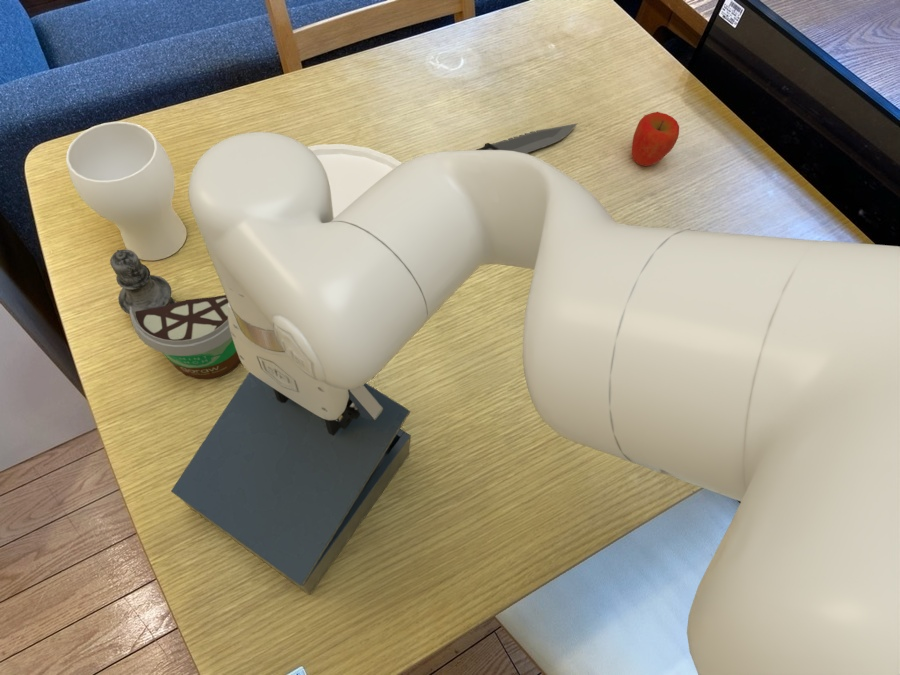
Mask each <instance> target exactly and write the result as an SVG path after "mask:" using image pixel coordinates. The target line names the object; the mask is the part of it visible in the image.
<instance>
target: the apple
mask: <svg viewBox="0 0 900 675" xmlns="http://www.w3.org/2000/svg"><path fill="white" fill-rule="evenodd" d="M679 136H680V125H679V123H678V121H677V120H676V119H675V118H674V117H673V116H671V115H669V114H667V113H663V112H660V111H654V112H650V113H647V114H644V116H643V117H642V118H641V119H640V120H639V122H638V123H637V125H636V128H635V131H634V133H633V137H632V143H631V157H632V159H633V162H634V163H636V164H637V165H640V166H643V167H649V166H652V165H654V164H657V163H658V162H659V161H661V160H662V159H664V157H666V156H668V154H669V153H670V152H671V151H672V149H673V148H674V147H675V145H676V143H677V142H678V139H679Z"/></svg>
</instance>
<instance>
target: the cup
mask: <svg viewBox="0 0 900 675" xmlns="http://www.w3.org/2000/svg"><path fill="white" fill-rule="evenodd" d="M65 160H66V161H65V162H66V166H67V170H68V174H69V178H70V181H71V184H72V186H73V187H74V189H75V191H76V193H77V194H78V196H79V197H80V199H81V200H82V202H84V204H86V206H87V207H89V208H90V209H91V210H92V211H93V212H95V213H96V214H97V215H98V216H100V217H101V218H103V219H105V220H108V221H109V222H112V223H113V224H114V225H115V226H116V227H117V228H118V229H119V232H120V235H121V239H122V241H123V244H124V247H125V249H126V250H131V251H133V252H134V253H135V254H136V255H137V256H138V258H139V260H142V261H159V260H164V259H167V258H169V257H171V256H172V255H174V254H175V253H177V252H178V251H179V250H180V249H182V247H183V246H184V244H185V242H186V240H187V235H188V233H187V228H186V226H185V224H184V222H183V221H182V219H181V217H180V216H179V215H178V214H177V212H176V211H175V210H174V206H173V199H174V195H175V189H176V188H175V186H176V184H175V182H176V181H175V170H174V167H173V164H172V162H171V159H170V157H169V155H168V153H167V151H166V150H165V148H164V146H162V144H161V143H160V141H159V140H158V139H157V138H156V136H155V135H154V134H153V133H152V132H151V131H150V130H149V129H148V128H146V127H145V126H142V125H139V124H137V123H135V122H134V123H133V122H129V121H110V122H103V123H101V124H96V125H94V126H91V127H90V128H88V129H86V130H83V131H82V132H81V133H79V134H78V135H77V136H76V137H74V138H73V140H72V142H71V143H70V144H69V145H68V148H67V151H66V153H65Z"/></svg>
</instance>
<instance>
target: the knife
mask: <svg viewBox="0 0 900 675" xmlns="http://www.w3.org/2000/svg"><path fill="white" fill-rule="evenodd" d="M577 125H578V123H572V124H567V125H566V124H565V125H562V126H561V125H560V126H556V127H549V128H543V129H539V130H538V129H537V130H535V131H534V130H533V131H529V132H525V133H524V134H520V135H518V136H517V135H516V136H513V137H510V138H507V139H503V140H500V141H497V142H494V143H493V142H492V143H490V142H485V144H484V146H483V147H480V148H477V149H475V150H507V151H515V152H520V153H525V154H529V153H531V152H534V151H536V150H539V149H542V148H545V147H548V146H550V145H553V144H556V143H557V142H559V141H561V140H562V139H564V138H565V137H567V136H568V135H569V134H570V133H571V132H572V131H573V130H574V129H575V127H576V126H577Z"/></svg>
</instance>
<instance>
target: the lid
mask: <svg viewBox="0 0 900 675" xmlns="http://www.w3.org/2000/svg"><path fill="white" fill-rule="evenodd" d="M364 386H365V387H366V389H367V390H368V391H369V392H370V393H371V394H372V396H373V397H374V398H375V399H376V400H377V402H378V403H379V404H380V405H381V406H382V408H383V410H382V412H381V413H380V414H379V416H378V417H377V418H376V420H375V421H371V420H367V419H363V418H362V417H361V416H359V417H358V418H357V419H352V421H351V422H350V424H349V425H348V426H347V427H346V428H345V429H343V428H342V427H341V428H340V429H339V430H338V431H337V433H336V434H335V435H334V436H333V435H331V434H330V433H328V430H327V426H326V422H325V419H323V418H321V417H319V416H317V415H315V414H314V413H312V412H310V411H309V410H307V409H306V408H304V407H302V406H301V405H299V404H298V403H296V402H294V401H293V400H291V399H290V398H289V399H288V401H287V402H286V403H281V402H279V401H278V400H277V398H276V395H275V392H274V390H273V388H272V387H271V386H269V385H268V384H266V383H265V382H263V381H262V380H260V379H259V378H257V377H256V376H254V375H253V374H252V373H250V372H249V371H248V373H247V375H246V377H245V378H244V379H243V381H242V383H241V384H240V386H239V387H238V389H237V390H236V391H235V394H234V395H233V396H232V398H231V399H230V400H229V402H228V404H227V405H226V407H225V408H224V410H223V412H222V413H221V414H220V415H219V416H218V419H217V421H216V422H215V424H214V425H213V426H212V428H211V429H210V431H209V432H208V434H207V436H206V437H205V439H204V440H203V441H202V443H201V444H200V446H199V448H198V449H197V451H196V452H195V454H194V455H193V456H192V458H191V460H190V461H189V463H188V465H187V466H186V467H185V469H184V471H182V473H181V475H180V476H179V478H178V480H177V481H176V482H175V484H174V485H173V487H172V489H171V491H170V492H171V493H172V494H174V495H175V496H176V497H178V498H179V499H180V498H181V499H182V500H183V501H185V502H186V503H188V504H189V505H190V506H192V507H193V508H194V509H196V510H197V511H199V512H200V513H201V514H203V515H204V516H205V517H207V518H208V519H210V520H211V521H212V522H214V523H215V524H216V525H218V526H219V527H220V528H222V529H223V530H225V531H226V532H227V533H229V534H230V535H231V536H233V537H234V538H236V539H237V540H238V541H240V542H241V543H242V544H244V545H245V546H247V547H248V548H249V549H251V550H252V551H253V552H255V553H256V554H258V555H259V556H260V557H262V558H263V559H264V560H266V561H267V562H269V563H270V564H271V565H273V566H274V567H275V568H277V569H278V570H280V571H281V572H282V573H284V574H285V575H286V576H288V577H289V578H291V579H292V580H293V581H295V582H296V583H297V584H299V585H300V586H301V585H303V584H304V583H305V581H306V580H307V578H308V577H309V575H310V573H311V572H312V570H313V569H314V567H315V565H316V564H317V562H318V560H319V559H320V557H321V556H322V554H323V552H324V551H325V549H326V548H327V546H328V544H329V543H330V541H331V539H332V538H333V536H334V535H335V533H336V531H337V530H338V528H339V526H340V525H341V523H342V522H343V520H344V518H345V517H346V515H347V514H348V512H349V510H350V509H351V507H352V505H353V504H354V502H355V501H356V499H357V497H358V496H359V494H360V493H361V491H362V489H363V488H364V486H365V484H366V483H367V481H368V480H369V478H370V476H371V475H372V473H373V472H374V470H375V468H376V467H377V465H378V463H379V462H380V460H381V459H382V457H383V455H384V454H385V452H386V451H387V449H388V447H389V446H390V444H391V442H392V441H393V439H394V438H395V436H396V434H397V433H398V431H399V430H400V429H402V426H403V425H404V423H405V421H406V420H407V418H408V417H409V415H410V413H411V410H410V409H408V408H406V407H405V406H403V405H402V404H400V403H399V402H397V401H396V400H394V399H392V398H390V397H389V396H387V395H386V394H384V393H382V392H381V391H380V390H378V389H376V388H374V387H373V386H372V385H370V384H368V382H367V383H365V384H364ZM181 499H180V500H181ZM182 500H181V501H182ZM183 501H182V502H183ZM185 502H184V503H185ZM186 503H185V504H186Z"/></svg>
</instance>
